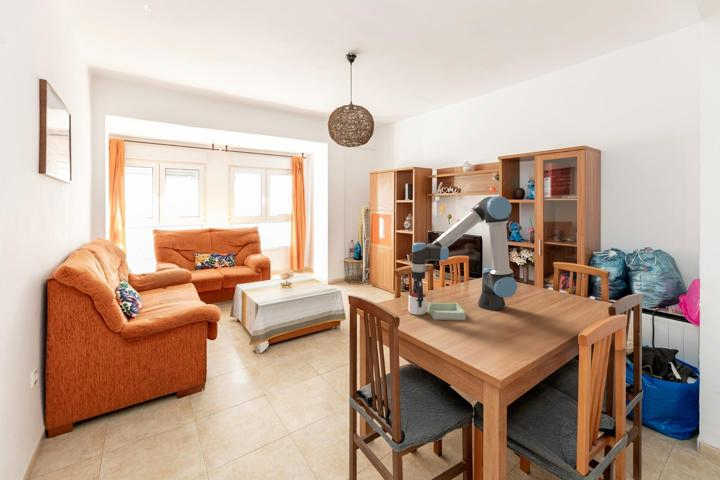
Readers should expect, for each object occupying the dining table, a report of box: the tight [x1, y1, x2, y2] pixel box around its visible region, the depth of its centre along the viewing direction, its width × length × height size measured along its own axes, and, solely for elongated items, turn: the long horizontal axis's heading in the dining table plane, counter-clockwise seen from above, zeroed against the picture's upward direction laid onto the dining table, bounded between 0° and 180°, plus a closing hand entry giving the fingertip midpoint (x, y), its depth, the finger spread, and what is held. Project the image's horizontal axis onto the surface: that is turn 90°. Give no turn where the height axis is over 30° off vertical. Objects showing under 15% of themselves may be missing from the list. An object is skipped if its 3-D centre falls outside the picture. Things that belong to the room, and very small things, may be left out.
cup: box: [407, 292, 428, 316], centre depth 181 cm, size 10×10×10 cm
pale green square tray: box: [427, 301, 467, 321], centre depth 178 cm, size 16×16×4 cm
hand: (417, 308), depth 181 cm, fingers open, 12 cm apart
